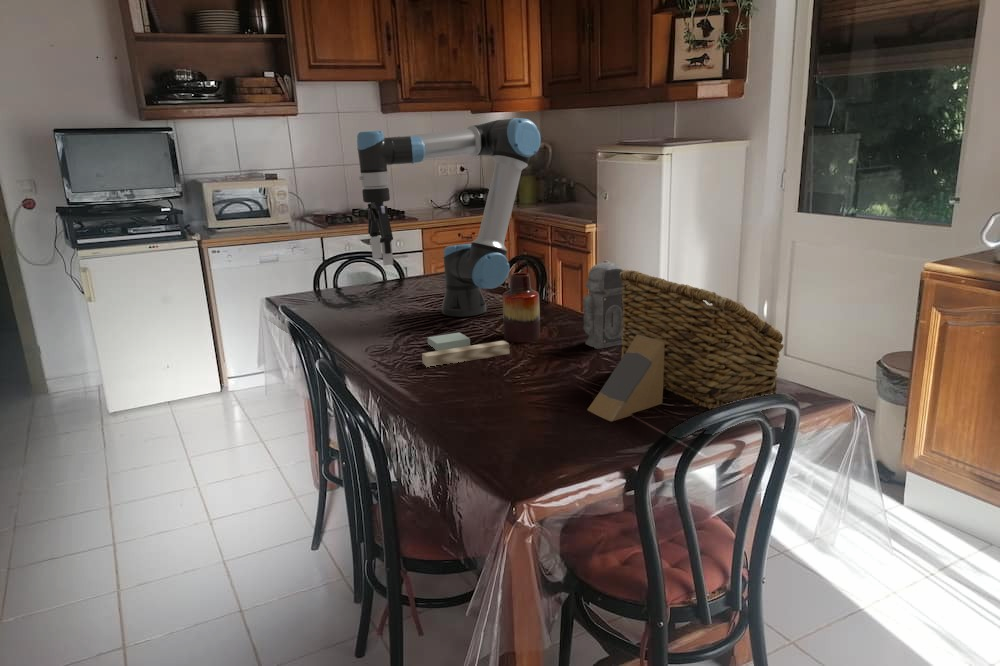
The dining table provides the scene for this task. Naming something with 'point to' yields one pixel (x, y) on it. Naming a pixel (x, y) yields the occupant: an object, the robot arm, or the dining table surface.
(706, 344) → the basket
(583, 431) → the dining table surface
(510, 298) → the vase
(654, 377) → the sandwich container
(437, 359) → the curved wooden bar
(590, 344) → the figurine
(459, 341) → the block
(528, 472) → the dining table surface
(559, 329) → the dining table surface
